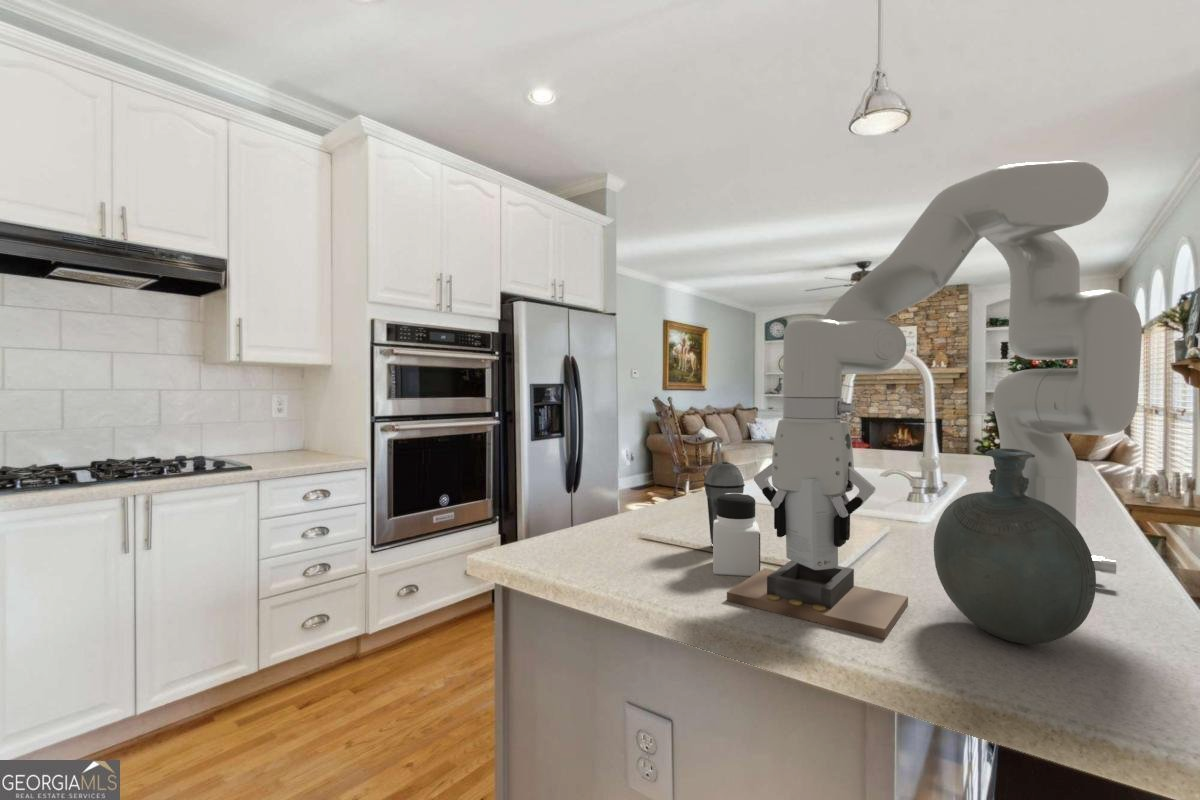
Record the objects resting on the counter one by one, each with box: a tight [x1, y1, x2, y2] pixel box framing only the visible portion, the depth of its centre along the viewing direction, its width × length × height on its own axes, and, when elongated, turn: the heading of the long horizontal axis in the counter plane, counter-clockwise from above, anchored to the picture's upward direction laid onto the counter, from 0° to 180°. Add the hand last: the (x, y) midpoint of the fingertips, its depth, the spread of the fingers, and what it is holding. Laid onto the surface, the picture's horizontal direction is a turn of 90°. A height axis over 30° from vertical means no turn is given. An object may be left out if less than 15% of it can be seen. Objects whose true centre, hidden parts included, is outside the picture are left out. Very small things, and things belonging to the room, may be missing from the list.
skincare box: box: [785, 478, 839, 570], centre depth 80 cm, size 6×4×12 cm
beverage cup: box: [703, 437, 746, 545], centre depth 106 cm, size 7×7×20 cm
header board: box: [726, 560, 909, 640], centre depth 79 cm, size 20×13×4 cm, turn 52°
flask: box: [933, 448, 1097, 645], centre depth 68 cm, size 12×17×22 cm
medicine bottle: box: [712, 493, 761, 577], centre depth 94 cm, size 7×7×12 cm
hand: (810, 538), depth 80 cm, fingers closed on skincare box, 7 cm apart
